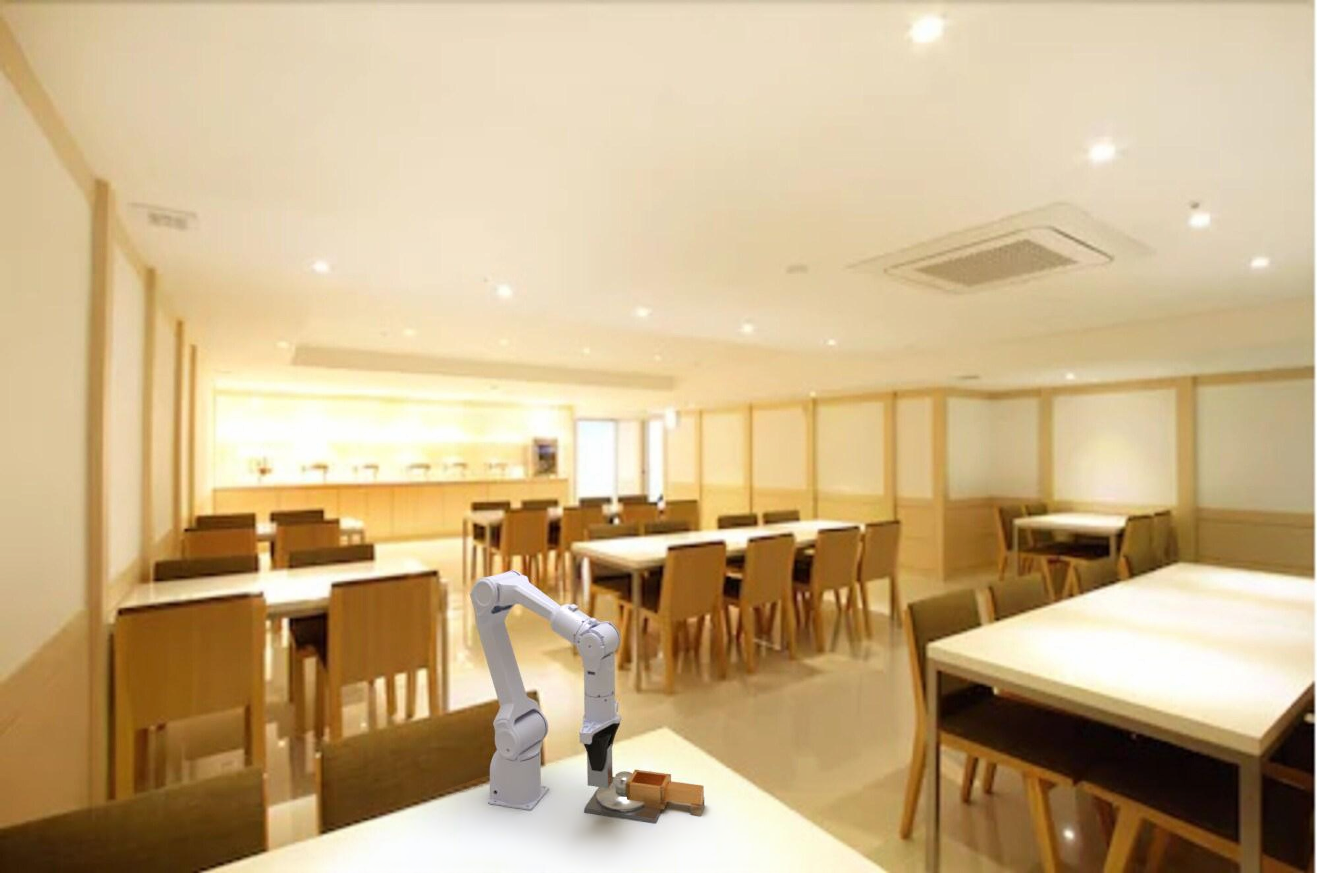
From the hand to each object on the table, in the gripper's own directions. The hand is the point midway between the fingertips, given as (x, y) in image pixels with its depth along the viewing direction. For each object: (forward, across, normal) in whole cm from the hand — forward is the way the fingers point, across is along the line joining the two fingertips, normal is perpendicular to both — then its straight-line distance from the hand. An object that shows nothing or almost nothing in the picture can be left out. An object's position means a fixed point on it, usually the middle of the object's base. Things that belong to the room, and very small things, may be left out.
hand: (600, 766), depth 113 cm
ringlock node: (+10, +8, -7) cm, 14 cm away
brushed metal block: (+3, 0, 0) cm, 3 cm away
